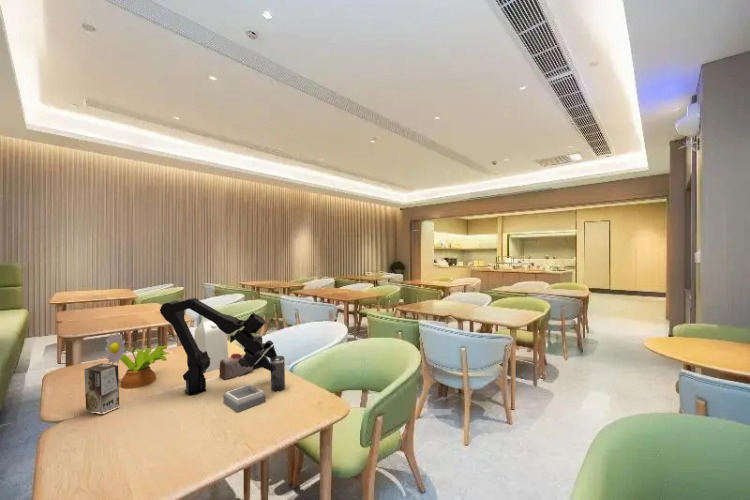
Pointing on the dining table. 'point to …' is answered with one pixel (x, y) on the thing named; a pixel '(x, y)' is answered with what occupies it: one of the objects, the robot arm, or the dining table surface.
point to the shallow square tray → (244, 397)
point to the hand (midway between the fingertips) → (275, 366)
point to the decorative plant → (138, 370)
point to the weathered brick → (232, 367)
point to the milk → (211, 343)
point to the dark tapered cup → (277, 373)
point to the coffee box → (101, 387)
